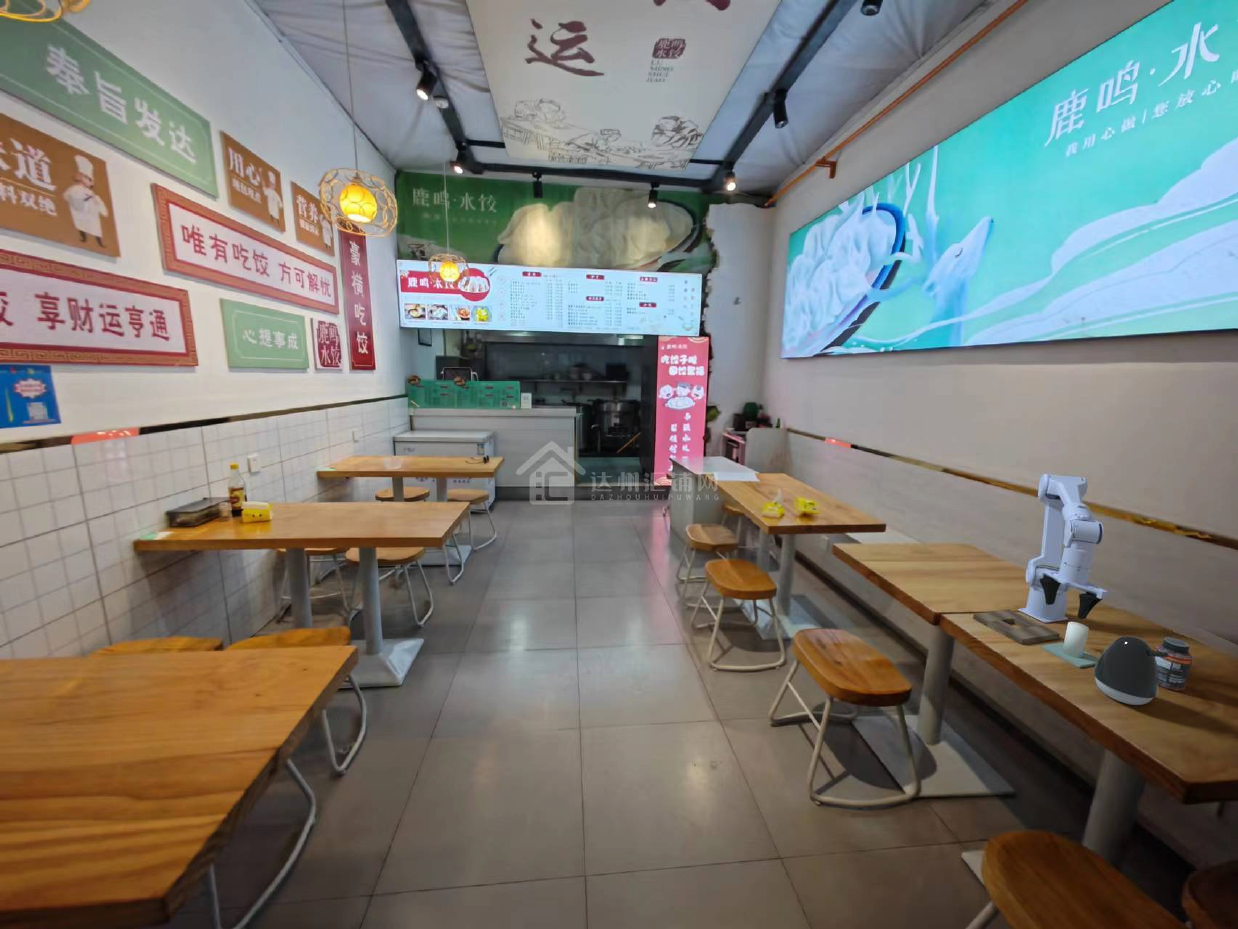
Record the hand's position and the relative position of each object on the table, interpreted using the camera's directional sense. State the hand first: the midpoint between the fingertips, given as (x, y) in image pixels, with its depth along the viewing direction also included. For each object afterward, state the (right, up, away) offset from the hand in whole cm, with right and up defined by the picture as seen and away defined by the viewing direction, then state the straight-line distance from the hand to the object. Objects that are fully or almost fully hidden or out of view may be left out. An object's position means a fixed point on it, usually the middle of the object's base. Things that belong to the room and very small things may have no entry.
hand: (1065, 610), depth 129 cm
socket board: (-5, -8, +10) cm, 14 cm away
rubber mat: (-1, -11, -3) cm, 11 cm away
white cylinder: (-1, -10, -3) cm, 11 cm away
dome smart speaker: (-5, -14, -19) cm, 24 cm away
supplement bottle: (+11, -14, -14) cm, 23 cm away
